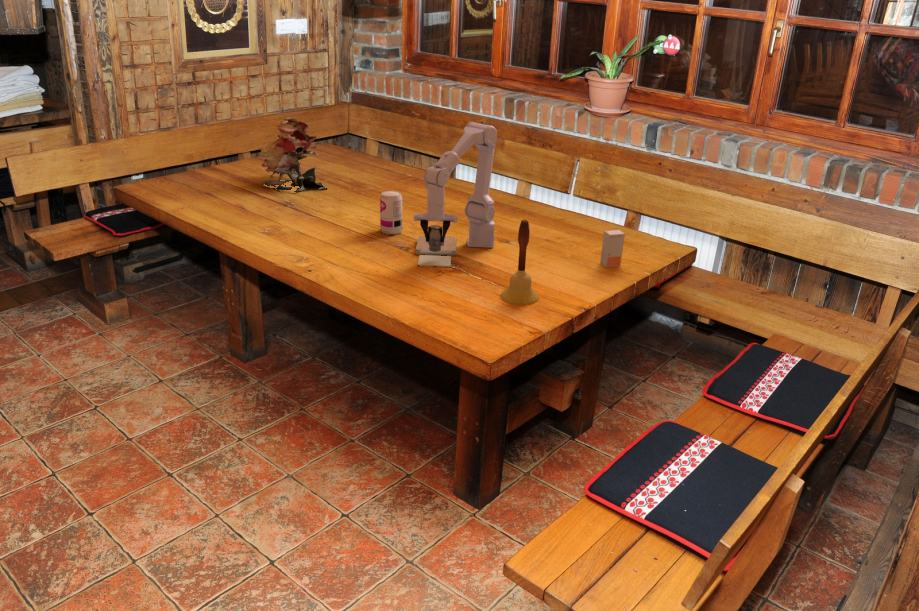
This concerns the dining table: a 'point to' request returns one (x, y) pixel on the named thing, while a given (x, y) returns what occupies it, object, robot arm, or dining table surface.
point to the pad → (434, 260)
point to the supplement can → (391, 212)
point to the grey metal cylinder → (435, 238)
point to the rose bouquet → (289, 155)
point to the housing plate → (446, 247)
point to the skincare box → (612, 248)
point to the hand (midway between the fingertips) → (435, 241)
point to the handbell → (521, 274)
